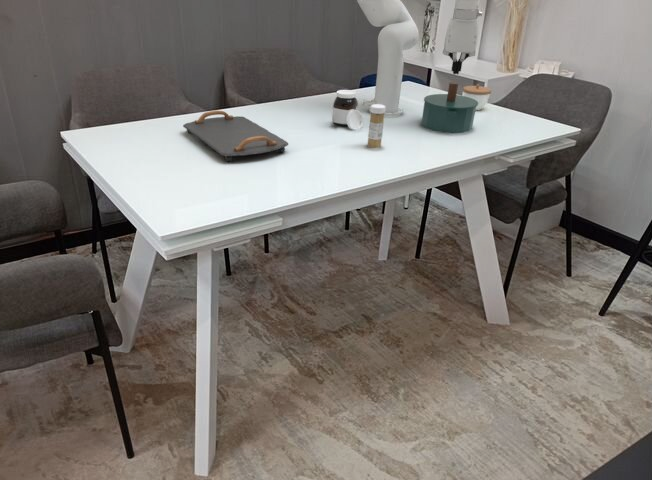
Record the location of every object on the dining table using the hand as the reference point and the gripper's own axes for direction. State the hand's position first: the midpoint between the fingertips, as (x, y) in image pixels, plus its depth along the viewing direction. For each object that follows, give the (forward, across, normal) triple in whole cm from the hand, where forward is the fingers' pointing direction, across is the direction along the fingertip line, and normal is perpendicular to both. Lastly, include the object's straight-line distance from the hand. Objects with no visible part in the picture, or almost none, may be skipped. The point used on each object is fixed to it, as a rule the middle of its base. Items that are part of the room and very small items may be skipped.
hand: (455, 73), depth 188 cm
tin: (+19, 0, 0) cm, 19 cm away
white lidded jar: (+19, -13, -29) cm, 37 cm away
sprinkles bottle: (+19, +25, +29) cm, 43 cm away
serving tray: (+19, +70, +34) cm, 80 cm away
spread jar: (+19, +35, +8) cm, 41 cm away
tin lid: (+10, 0, 0) cm, 10 cm away
